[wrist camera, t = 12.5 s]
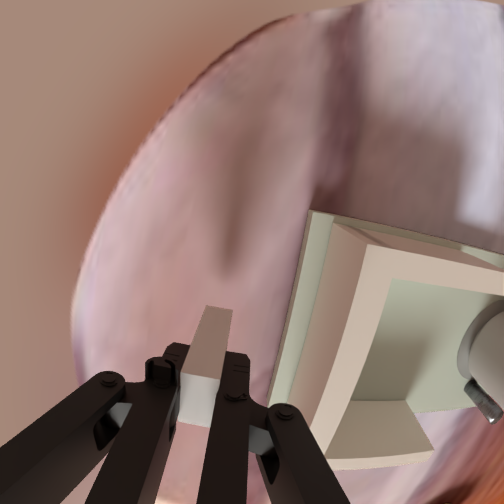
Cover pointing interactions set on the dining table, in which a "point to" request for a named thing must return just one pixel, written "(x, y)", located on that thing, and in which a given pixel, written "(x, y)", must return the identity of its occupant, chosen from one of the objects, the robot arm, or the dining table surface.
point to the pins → (483, 401)
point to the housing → (369, 343)
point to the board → (394, 327)
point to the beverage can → (489, 358)
